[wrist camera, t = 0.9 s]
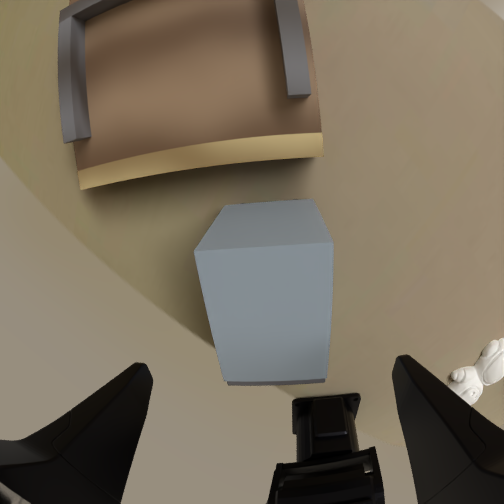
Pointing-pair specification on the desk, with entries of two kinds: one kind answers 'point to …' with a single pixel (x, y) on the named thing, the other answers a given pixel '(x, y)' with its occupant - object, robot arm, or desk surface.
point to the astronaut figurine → (479, 373)
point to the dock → (185, 85)
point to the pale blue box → (269, 292)
